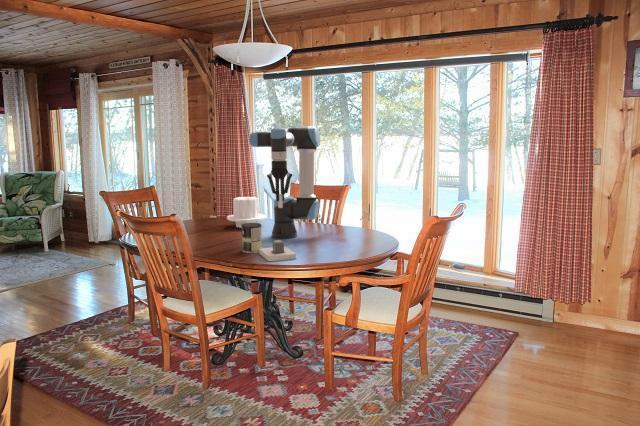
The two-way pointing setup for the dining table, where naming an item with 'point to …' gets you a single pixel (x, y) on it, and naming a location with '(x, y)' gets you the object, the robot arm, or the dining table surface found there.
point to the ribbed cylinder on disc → (245, 211)
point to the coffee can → (251, 237)
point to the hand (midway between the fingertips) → (280, 207)
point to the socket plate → (269, 255)
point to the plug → (278, 247)
